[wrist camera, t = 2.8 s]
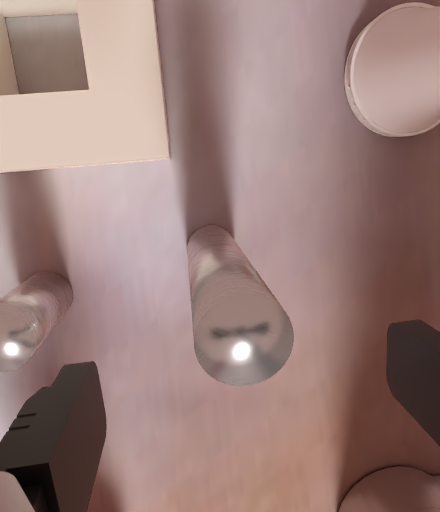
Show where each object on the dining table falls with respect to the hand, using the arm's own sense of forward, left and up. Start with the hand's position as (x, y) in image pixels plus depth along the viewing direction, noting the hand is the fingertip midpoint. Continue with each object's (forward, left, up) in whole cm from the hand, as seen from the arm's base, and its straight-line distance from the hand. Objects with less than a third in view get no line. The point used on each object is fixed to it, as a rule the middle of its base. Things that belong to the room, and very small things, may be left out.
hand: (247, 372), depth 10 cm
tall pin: (0, 0, -16) cm, 16 cm away
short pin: (+11, +2, -16) cm, 19 cm away
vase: (-13, -10, -16) cm, 23 cm away
